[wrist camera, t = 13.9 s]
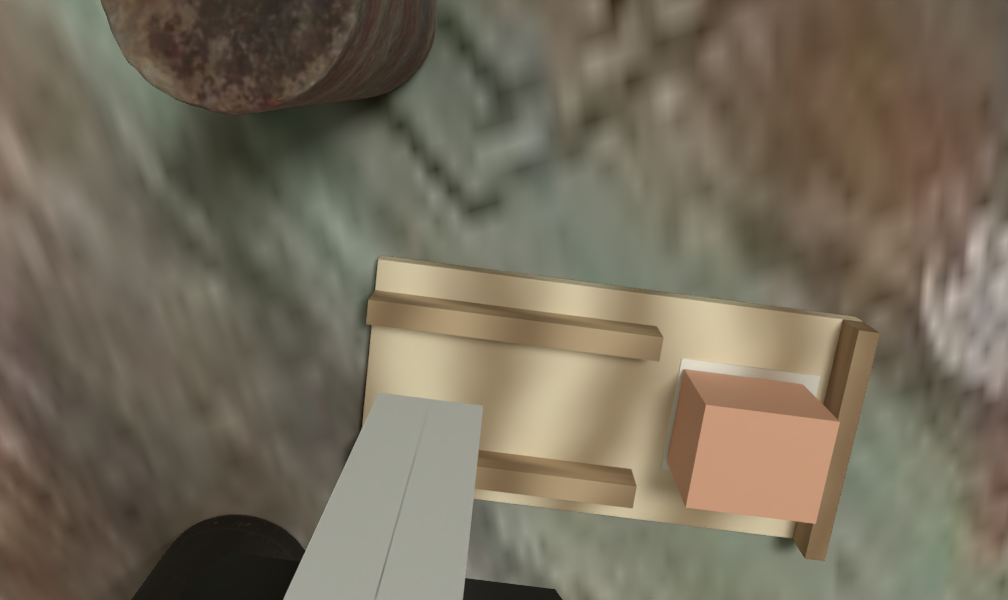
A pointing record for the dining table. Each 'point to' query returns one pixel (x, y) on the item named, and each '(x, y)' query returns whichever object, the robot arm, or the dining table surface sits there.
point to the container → (215, 552)
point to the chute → (601, 382)
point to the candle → (273, 49)
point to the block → (751, 446)
